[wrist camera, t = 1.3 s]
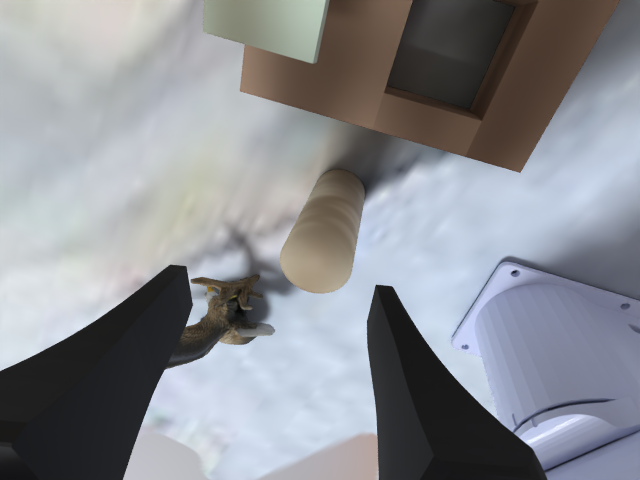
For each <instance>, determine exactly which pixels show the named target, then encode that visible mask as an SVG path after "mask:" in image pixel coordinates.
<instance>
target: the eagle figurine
mask: <svg viewBox="0 0 640 480" xmlns="http://www.w3.org/2000/svg"><path fill="white" fill-rule="evenodd" d="M258 279H259V275H255V276H253V277H251V278H245V279H240V280H239V281H237V282H229V283H228V282H223V281H218V280H214V279H209V278H204V277H200V278H195V279H191V283H193V284H200V285H203V286H207V292H206V293H205V298H206V301H207V304H208V307H209V308H208V312H207V315H206V316H205V317H204V318H203V319H202V321H200V322H198V323H197V324H195V325H191V326H187V327H185V329H184V331H183V333H182V336H181V338H180V340H179V342H178V344H177V346H176V348H175V350H174V352H173V354H172V356H171V358H170V360H169V362H168V364H167V366H166V368H165V369H168V368H172V367H175V366H179V365H182V364H187V363H189V362H192V361H194V360H197V359H200V358H203V357H204V356H205V355H207V354H208V353H209V352H210V350H211V349H212V348H213V347H214V345H215V344H216V343H217V342H218V341H220V342H222V343H225V344H234V345H242V344H247V343H249V342H250V341H252V340H253V339H254V338H256V337H257V336H270V335H272V334H273V333H274V332H275V329H274V328H273V327H272V326H271V325H269V324H264V323H251V322H249V321H248V320H247V316H246V311H247V310H251V309H253V307H252V306H250V305H248V299H249V295H251V296H252V297H254V298H255V299H262V298H263V296H262V294H260V293H255V292H254V291H253V290H252V287H253V285H254V283H255V282H256V281H257V280H258ZM212 287H216V288H217V289H219V291H220V292H219V295H218V294H217V293H216V292H215V291H214V290H213V289H212Z"/></svg>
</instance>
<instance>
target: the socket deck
mask: <svg viewBox="0 0 640 480" xmlns="http://www.w3.org/2000/svg"><path fill="white" fill-rule="evenodd" d="M494 1H497V2H501V3H504V4H508V5H512V6H515V9H514V11H513V14H512V16H511V18H510V20H509V23H508V25H507V27H506V29H505V31H504V34H503V36H502V38H501V40H500V43H499V45H498V47H497V49H496V52H495V54H494V56H493V58H492V60H491V63H490V65H489V67H488V69H487V72H486V74H485V76H484V78H483V80H482V83H481V85H480V87H479V89H478V92H477V94H476V96H475V98H474V101H473V103H472V105H471V107H470V109H467V108H463V107H460V106H456V105H453V104H449V103H446V102H442V101H439V100H435V99H432V98H428V97H425V96H421V95H418V94H414V93H411V92H407V91H404V90H400V89H397V88H393V87H390V86H386V84H387V81H388V78H389V75H390V72H391V68H392V65H393V62H394V59H395V56H396V52H397V49H398V46H399V43H400V40H401V37H402V33H403V30H404V27H405V24H406V21H407V17H408V14H409V11H410V8H411V5H412V2H413V0H204V15H203V32H204V33H207V34H211V35H214V36H218V37H221V38H225V39H228V40H232V41H235V42H239V43H242V44H245V47H244V57H243V66H242V76H241V85H240V91H241V92H244V93H248V94H251V95H255V96H258V97H262V98H265V99H268V100H272V101H275V102H279V103H282V104H286V105H289V106H293V107H296V108H299V109H303V110H306V111H310V112H313V113H317V114H320V115H323V116H327V117H330V118H334V119H337V120H341V121H344V122H347V123H351V124H354V125H358V126H361V127H365V128H368V129H372V130H375V131H378V132H382V133H385V134H389V135H392V136H396V137H399V138H402V139H406V140H409V141H413V142H416V143H420V144H423V145H427V146H430V147H433V148H437V149H440V150H444V151H447V152H451V153H454V154H457V155H461V156H464V157H468V158H471V159H475V160H478V161H482V162H485V163H488V164H492V165H495V166H499V167H502V168H506V169H509V170H512V171H516V172H519V173H520V172H521V171H522V169H523V167H524V165H525V164H526V162H527V160H528V159H529V157H530V155H531V153H532V152H533V150H534V148H535V146H536V145H537V143H538V141H539V140H540V138H541V136H542V134H543V133H544V131H545V129H546V127H547V126H548V124H549V122H550V120H551V119H552V117H553V115H554V114H555V112H556V110H557V108H558V107H559V105H560V103H561V101H562V100H563V98H564V96H565V95H566V93H567V91H568V89H569V88H570V86H571V84H572V82H573V81H574V79H575V77H576V76H577V74H578V72H579V70H580V69H581V67H582V65H583V63H584V62H585V60H586V58H587V56H588V55H589V53H590V51H591V50H592V48H593V46H594V44H595V43H596V41H597V39H598V37H599V36H600V34H601V32H602V31H603V29H604V27H605V25H606V24H607V22H608V20H609V18H610V17H611V15H612V13H613V12H614V10H615V8H616V6H617V5H618V3H619V1H620V0H494Z"/></svg>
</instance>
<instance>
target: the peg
mask: <svg viewBox="0 0 640 480" xmlns="http://www.w3.org/2000/svg"><path fill="white" fill-rule="evenodd" d="M364 199H365V190H364V186H363V184H362V182H361V180H360V179H359V178H358V177H357V176H356V175H355V174H353V173H351V172H349V171H347V170H341V169H336V170H331V171H328V172H326V173H325V174H323V175H322V176H321V177H320V178H319V179H318V181H317V183H316V185H315V187H314V188H313V190H312V192H311V194H310V196H309V198H308V200H307V202H306V204H305V206H304V208H303V209H302V211H301V213H300V215H299V217H298V219H297V221H296V223H295V225H294V227H293V229H292V230H291V232H290V234H289V236H288V238H287V240H286V242H285V244H284V246H283V248H282V250H281V253H280V265H281V268H282V271H283V273H284V274H285V276H286V277H287V278H288V280H289V281H290V282H291V283H293V284H294V285H295V286H297V287H298V288H300V289H302V290H305V291H307V292H311V293H329V292H333V291H335V290H338V289H339V288H341V287H342V286H343V285H345V283H346V282H347V281H348V279H349V278H350V275H351V272H352V267H353V261H354V255H355V250H356V244H357V238H358V233H359V227H360V221H361V216H362V210H363V204H364Z"/></svg>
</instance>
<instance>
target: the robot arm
mask: <svg viewBox="0 0 640 480" xmlns="http://www.w3.org/2000/svg"><path fill="white" fill-rule="evenodd" d="M514 270H518V271H517V272H516V273H511V272H512V271H514ZM625 303H626V304H625ZM622 304H625V305H622ZM621 305H622V306H621ZM192 306H193V303H192V297H191V291H190V285H189V279H188V273H187V267H186V266H179V265H169V266H168V267H167V268H165V269H164V270H163V271H161V272H160V273H159V274H158V275H156V276H155V277H154V278H153V279H151V280H150V281H149V282H148V283H146V284H145V285H144V286H143V287H141V288H140V289H139V290H138V291H136V292H135V293H134V294H132V295H131V296H130V297H128V298H127V299H126V300H124V301H123V302H122V303H120V304H119V305H117V306H116V307H115V308H113V309H112V310H110V311H109V312H108V313H106V314H105V315H103V316H102V317H100V318H99V319H97V320H96V321H94V322H93V323H91V324H90V325H88V326H87V327H85V328H83V329H82V330H80V331H78V332H77V333H75V334H73V335H71V336H70V337H68V338H66V339H64V340H63V341H61V342H59V343H57V344H55V345H53V346H51V347H49V348H47V349H46V350H44V351H42V352H40V353H38V354H36V355H34V356H32V357H30V358H28V359H26V360H24V361H21V362H19V363H17V364H15V365H13V366H11V367H8V368H6V369H4V370H2V371H0V480H123V477H124V474H125V471H126V468H127V465H128V462H129V459H130V455H131V453H132V449H133V447H134V444H135V441H136V439H137V436H138V433H139V430H140V427H141V424H142V422H143V419H144V416H145V414H146V411H147V408H148V406H149V403H150V400H151V398H152V395H153V393H154V391H155V388H156V386H157V384H158V382H159V380H160V378H161V376H162V374H163V372H164V370H165V368H166V366H167V364H168V362H169V360H170V358H171V356H172V354H173V352H174V350H175V348H176V346H177V344H178V342H179V340H180V338H181V336H182V333H183V331H184V329H185V327H186V324H187V321H188V318H189V315H190V312H191V309H192ZM367 344H368V354H369V361H370V368H371V375H372V382H373V389H374V396H375V404H376V414H377V436H378V464H379V480H640V301H639V300H636V299H632V298H629V297H626V296H622V295H619V294H616V293H612V292H609V291H606V290H602V289H599V288H596V287H592V286H589V285H586V284H582V283H579V282H576V281H572V280H569V279H566V278H562V277H559V276H556V275H552V274H549V273H545V272H542V271H539V270H535V269H532V268H529V267H525V266H522V265H519V264H515V263H512V262H503V263H501V264H500V265H499V266H498V267H497V269H496V270H495V272H494V274H493V275H492V277H491V278H490V280H489V281H488V283H487V285H486V286H485V288H484V289H483V291H482V292H481V294H480V295H479V297H478V299H477V300H476V302H475V303H474V305H473V306H472V308H471V310H470V311H469V313H468V314H467V316H466V317H465V319H464V320H463V322H462V324H461V325H460V327H459V328H458V330H457V331H456V333H455V335H454V336H453V338H452V339H451V345H452V347H453V348H455V349H457V350H460V351H464V352H467V353H470V354H473V355H477V356H480V357H482V361H483V364H484V368H485V372H486V375H487V379H488V383H489V386H490V390H491V394H492V397H493V401H494V404H495V408H496V412H497V415H498V419H499V421H498V420H497V419H496V418H495V417H494V416H493V415H492V414H490V413H489V412H488V411H487V410H486V409H485V408H484V407H483V406H482V405H481V404H480V403H479V402H478V401H477V400H476V399H475V398H474V397H473V396H472V395H471V394H470V393H469V392H468V391H467V390H466V389H465V388H464V387H463V386H462V385H461V384H460V383H459V382H458V381H457V380H456V379H455V378H454V376H453V375H452V374H451V373H450V372H449V371H448V369H447V368H446V367H445V366H444V365H443V364H442V362H441V361H440V360H439V359H438V357H437V356H436V355H435V353H434V352H433V351H432V349H431V348H430V347H429V345H428V344H427V342H426V341H425V340H424V338H423V337H422V335H421V334H420V332H419V331H418V329H417V328H416V326H415V324H414V323H413V321H412V320H411V318H410V316H409V315H408V313H407V311H406V310H405V308H404V306H403V304H402V303H401V301H400V299H399V297H398V295H397V293H396V292H395V290H394V288H393V287H392V286H384V285H376V287H375V291H374V295H373V299H372V303H371V308H370V312H369V316H368V320H367ZM465 344H466V345H465ZM464 345H465V346H464Z"/></svg>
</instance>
